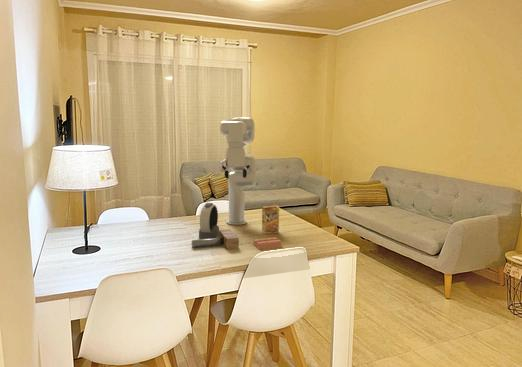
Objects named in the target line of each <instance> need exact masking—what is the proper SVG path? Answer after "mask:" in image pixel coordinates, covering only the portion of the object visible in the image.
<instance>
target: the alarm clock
mask: <svg viewBox="0 0 522 367" xmlns="http://www.w3.org/2000/svg"><path fill="white" fill-rule="evenodd" d="M218 220H219V212H218V207H217V205H216V204H214V203H213V202H205V204H204V205H203V206H202V208H201V210H200V216H199V230H198V240H200V239H211V238H219V230H220V227H219V225H218V222H219V221H218Z"/></svg>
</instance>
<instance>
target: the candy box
mask: <svg viewBox="0 0 522 367" xmlns="http://www.w3.org/2000/svg"><path fill="white" fill-rule="evenodd" d="M261 210H262V211H261V212H262V214H261V216H262V218H261V233H262V234H264V235H266V234H278V233H279V232H280V231H279V230H280V206H279V205H277V204H275V205H262V208H261Z"/></svg>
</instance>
